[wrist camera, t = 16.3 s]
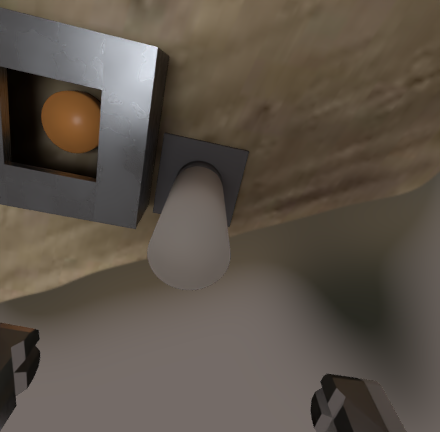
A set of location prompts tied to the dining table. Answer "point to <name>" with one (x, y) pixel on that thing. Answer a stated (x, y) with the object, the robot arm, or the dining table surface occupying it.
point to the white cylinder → (192, 230)
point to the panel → (109, 118)
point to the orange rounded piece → (72, 120)
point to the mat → (199, 151)
